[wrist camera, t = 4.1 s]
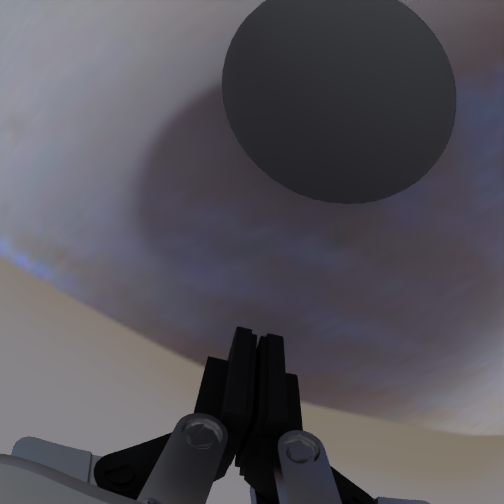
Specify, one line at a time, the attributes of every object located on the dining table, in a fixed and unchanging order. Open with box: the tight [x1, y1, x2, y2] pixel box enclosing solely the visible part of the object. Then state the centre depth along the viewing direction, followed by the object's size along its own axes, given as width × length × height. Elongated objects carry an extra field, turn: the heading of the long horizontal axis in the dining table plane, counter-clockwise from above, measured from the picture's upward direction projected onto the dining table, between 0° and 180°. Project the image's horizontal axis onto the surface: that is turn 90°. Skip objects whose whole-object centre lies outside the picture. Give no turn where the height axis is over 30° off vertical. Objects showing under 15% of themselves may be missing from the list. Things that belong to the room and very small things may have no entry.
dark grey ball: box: [222, 0, 456, 204], centre depth 6 cm, size 6×6×6 cm
